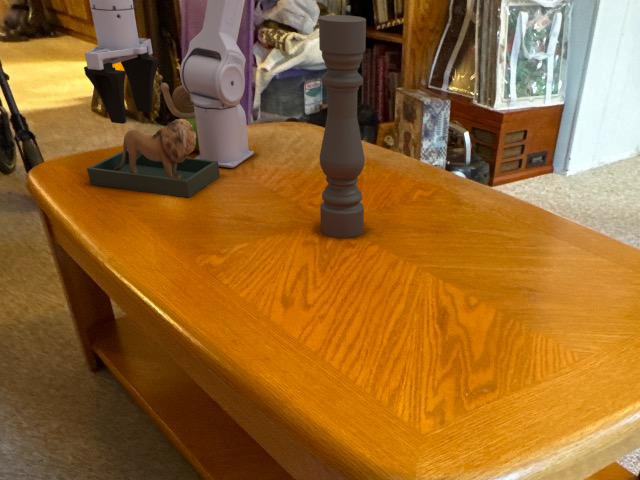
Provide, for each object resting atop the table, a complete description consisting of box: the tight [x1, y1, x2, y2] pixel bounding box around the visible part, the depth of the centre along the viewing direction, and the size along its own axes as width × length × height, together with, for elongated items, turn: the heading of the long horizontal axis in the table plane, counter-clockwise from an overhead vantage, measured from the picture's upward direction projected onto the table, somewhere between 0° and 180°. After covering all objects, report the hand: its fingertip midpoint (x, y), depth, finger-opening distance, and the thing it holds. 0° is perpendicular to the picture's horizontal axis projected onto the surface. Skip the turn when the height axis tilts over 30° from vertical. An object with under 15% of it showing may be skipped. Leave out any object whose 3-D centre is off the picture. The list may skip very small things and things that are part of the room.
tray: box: [86, 150, 220, 198], centre depth 110 cm, size 11×17×2 cm, turn 75°
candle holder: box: [318, 14, 367, 239], centre depth 89 cm, size 6×6×25 cm
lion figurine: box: [114, 118, 196, 179], centre depth 107 cm, size 15×5×9 cm, turn 80°
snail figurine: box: [158, 74, 199, 152], centre depth 120 cm, size 5×6×12 cm
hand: (132, 117), depth 104 cm, fingers open, 7 cm apart
